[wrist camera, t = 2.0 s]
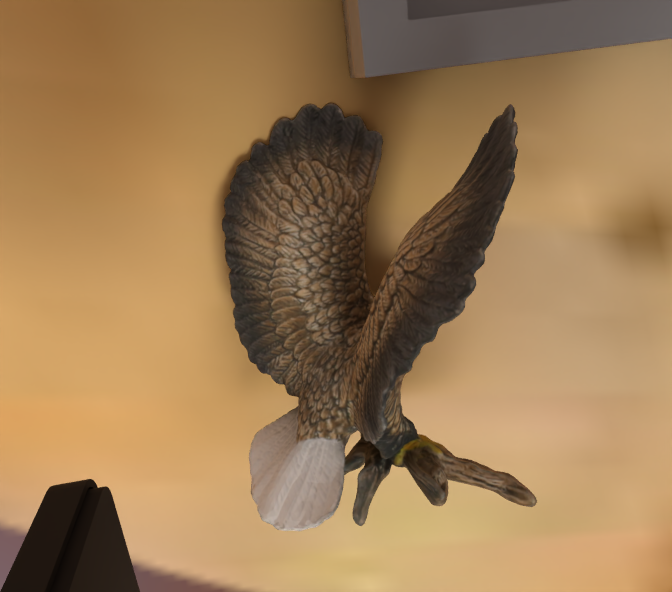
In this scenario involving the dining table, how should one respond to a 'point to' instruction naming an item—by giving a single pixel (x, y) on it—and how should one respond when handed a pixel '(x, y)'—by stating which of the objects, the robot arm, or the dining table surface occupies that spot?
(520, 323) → the dining table surface
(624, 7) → the holder
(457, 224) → the eagle figurine
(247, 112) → the dining table surface
